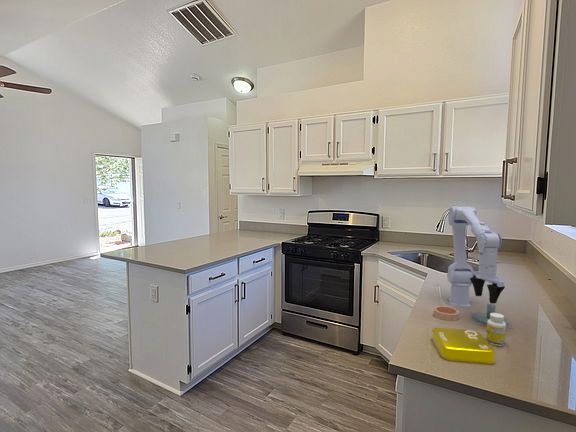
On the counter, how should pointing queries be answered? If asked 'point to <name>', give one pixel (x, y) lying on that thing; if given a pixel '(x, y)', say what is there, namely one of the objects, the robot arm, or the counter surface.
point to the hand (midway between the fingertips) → (485, 299)
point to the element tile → (462, 345)
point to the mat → (486, 324)
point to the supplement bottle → (496, 329)
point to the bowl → (446, 313)
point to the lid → (487, 314)
